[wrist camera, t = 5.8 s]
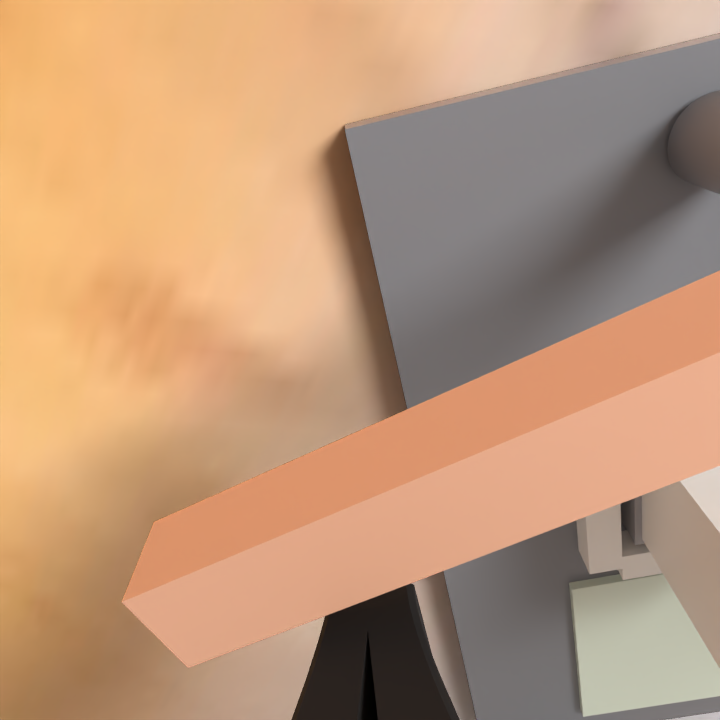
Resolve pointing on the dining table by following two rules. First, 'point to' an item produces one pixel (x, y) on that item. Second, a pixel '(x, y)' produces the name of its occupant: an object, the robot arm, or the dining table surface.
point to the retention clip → (453, 468)
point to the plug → (685, 545)
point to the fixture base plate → (540, 330)
